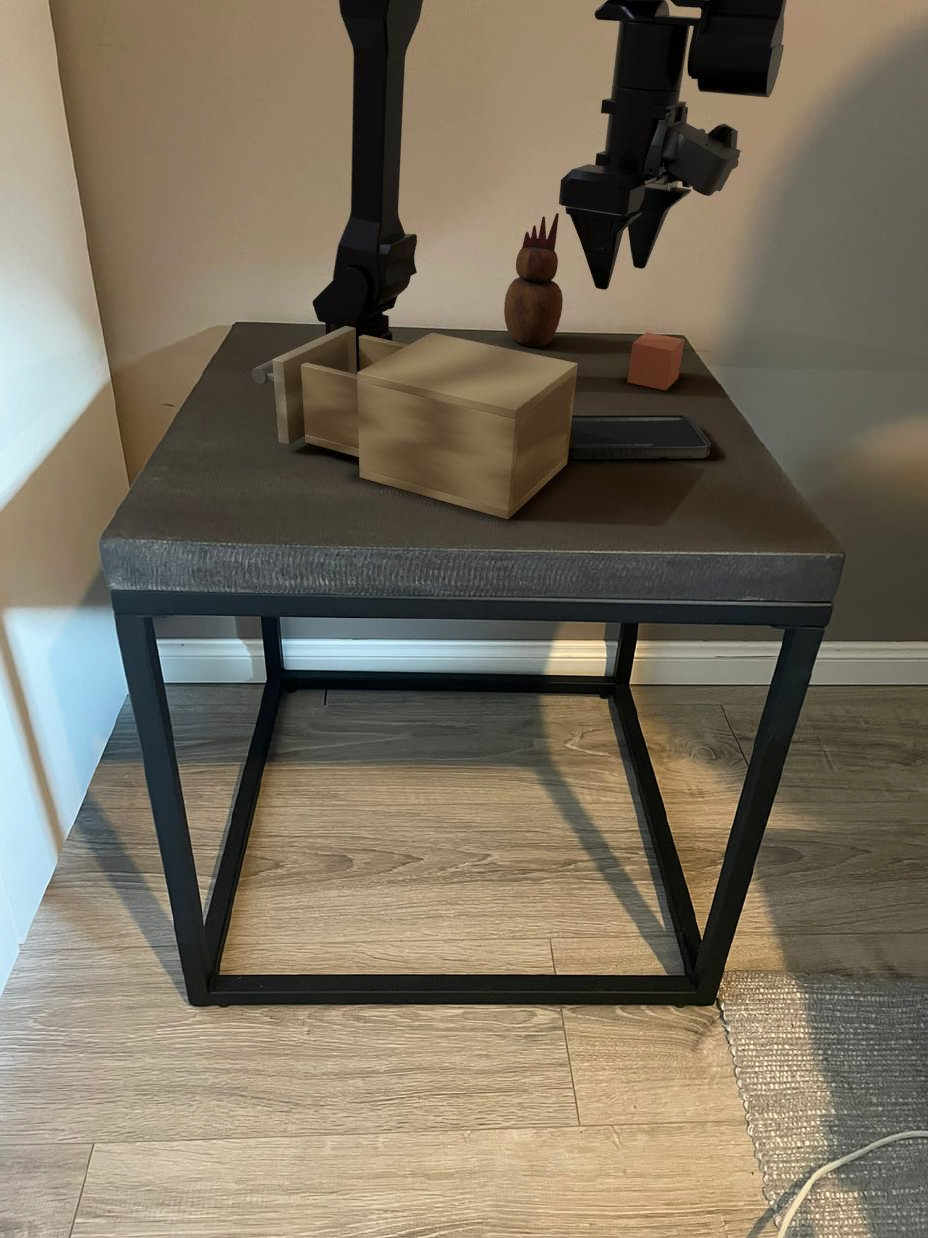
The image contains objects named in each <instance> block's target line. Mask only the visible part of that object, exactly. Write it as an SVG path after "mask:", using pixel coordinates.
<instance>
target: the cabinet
mask: <svg viewBox="0 0 928 1238" xmlns="http://www.w3.org/2000/svg"><path fill="white" fill-rule="evenodd" d="M578 366H579V363H578V362H574V361H573V362H572V361H569V360H563V359H559V358H558V359H557V358H554V357H550V356H544V355H540V354H536V353H531V352H530V353H529V352H526V351H521V350H516V349H511V348H508V347H507V348H506V347H502V346H497V345H493V344H488V343H483V342H479V341H473V340H469V339H464V338H459V337H456V336H451V335H446V334H440V333H436V332H431V333H428V334H427V335H425V336H423V337H421V338H419V339H417V340H415V341H414V342H412V343H410V344H409V345H408V346H406V347H404V348H402V349H400V350H398V351H397V352H395V353H393V354H391V355H389V356H387V357H385V358H383V359H382V360H380V361H378V362H376V363H374V364H372V365H370V366H368V367H367V368H365V369H363V370H361V371H359V372H357V381H358V382H357V384H358V425H359V457H358V461H359V462H358V463H359V464H358V465H359V478H361V479H364V480H367V481H371V482H375V483H378V484H381V485H385V486H390V487H392V488H395V489H399V490H402V491H407V492H409V493H412V494H417V495H419V496H424V497H428V498H431V499H435V500H438V501H441V502H445V503H449V504H451V505H455V506H459V507H463V508H466V509H469V510H472V511H473V510H474V511H477V512H480V513H483V514H487V515H490V516H494V517H498V518H501V519H503V520H504V519H505V520H509V519H511V517H512V516H514V515H515V514H516V513H517V512H518V511H519V510H520V509H521V508H522V507H523V506H524V505H525V504H527V503H528V501H529V500H531V499H532V498H533V497H534V496H535V495H536V494H537V493H538V492H539V491H541V489H542V488H543V487H545V485H546V484H548V483H549V481H551V480H552V479H553V478H554V477H555V476H556V475H558V473H559V472H560V471H562V469H563V468H564V467H565V466H567V464H568V459H567V458H568V457H567V456H568V449H569V440H570V431H571V422H572V415H573V413H574V412H573V411H574V403H575V395H576V387H577V376H578Z"/></svg>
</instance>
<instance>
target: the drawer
mask: <svg viewBox="0 0 928 1238" xmlns="http://www.w3.org/2000/svg"><path fill="white" fill-rule="evenodd" d="M408 345H410V344H407V343H404V342H399V341H395V340H392V341H390V340H386V339H381V338H377V337H372V336H367V335H362V336H360V337H359V360H360V371H361V370H363V369H365V368H367V367H368V366H370V365H372V364H374V363H376V362H378V361H380V360H382V359H383V358H385V357H387V356H389V355H391V354H393V353H395V352H397V351H398V350H400V349H402V348H404V347H406V346H408ZM251 377H252V380H253V381H254V382H255V383H256V384H257V385H265V384H267V383H269V382H273V383H274V385H273V386H274V396H275V408H276V421H277V422H276V423H277V435H278V436H277V437H278V443H281V444H285V445H288V446H290V445H292V444H293V443H295V442H296V441H299V440H300V439H302V438H303V437H304V440H305V441H304V442H305V443H306V444H308V445H309V444H310V445H313V446H317V447H321V448H323V449H328V450H332V451H336V452H338V453H342V454H346V455H350V456H353V457H357V458H359V425H358V384H357V382H358V381H357V365H356V328H353V327H348V326H344V327H342V328H340V329H338V330H335V331H333V332H331V333H329V334H327V335H326V334H325V335H323V336H321V337H318V338H316V339H314V340H312V341H310V342H306V343H305V344H304V345H301V346H298V347H297V348H295V349H292V350H290V351H288V352H285V353H283V354H281V355H279V356H276V357H274V358H273V359H271V360H269V361H267V362H264V363H262V364H260V365H258V366H256V367H254V368H253V369H252V371H251Z"/></svg>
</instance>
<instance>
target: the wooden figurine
mask: <svg viewBox="0 0 928 1238" xmlns="http://www.w3.org/2000/svg"><path fill="white" fill-rule="evenodd" d="M559 216H560V214H559V212H555V215H554V218H553V222H552V224H551V227H550V230H549V232H548V235H547V227H546V216H545V215H543V216H542V218H541V222H540V227H539V232H538V234H537V226H536V225H533V226H532V230H531V234H530V233H529V231H526V232H525V234H524V237H523V242H522V246H521V248H520V250H519V251H518V254H517V256H516V258H515V259H516V260H515V271H516V274H517V275H518V277H516V278H514V279H513V280H512V281H511V283H510V284H509V286H508V288H507V291H506V293H505V298H504V305H503V313H504V314H503V315H504V321H505V323H504V324H505V326H506V330H507V332H508V335H509V337H510V338H511V340H513V341H514V342H515V343H517V344H518V345H522V346H526V347H542V346H546V345H549V343H550V342H552V340H553V338H554V336H555V334H556V332H557V329H558V327H559V325H560V321H561V317H562V312H563V311H562V310H563V299H564V298H563V292H562V289H561V288H560V286H559V284H558V283H557V282H555V281H554V280H553V279H554V278H555V277H556V275H557V272H558V267H559V259H558V258H559V257H558V254H557V252H556V250H555V249H556V243H557V235H558V227H559V225H558V224H559Z"/></svg>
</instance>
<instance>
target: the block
mask: <svg viewBox="0 0 928 1238" xmlns="http://www.w3.org/2000/svg"><path fill="white" fill-rule="evenodd" d="M685 340H686V339H684V338H678V337H675V336H668V335H663V334H658V333H653V332H647V331H646V332H644V333H643V334H641V336H639V337H638V338H637V339H636V340H634V341H633V342H632V347H631V352H630V353H631V354H630V361H629V368H628V375H627V383H628V384H632V385H633V384H634V385H638V386H642V387H648V388H652V389H656V390H660V391H667V390H668V389H669V388H670V387H671V386H672V385H674V383H675V382H676V381H677V380H678V379H679V374H680V369H681V364H682V357H683V351H684V347H685Z"/></svg>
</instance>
